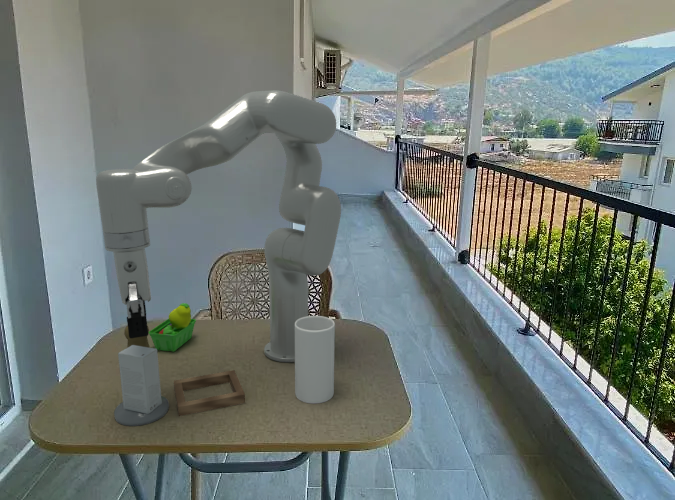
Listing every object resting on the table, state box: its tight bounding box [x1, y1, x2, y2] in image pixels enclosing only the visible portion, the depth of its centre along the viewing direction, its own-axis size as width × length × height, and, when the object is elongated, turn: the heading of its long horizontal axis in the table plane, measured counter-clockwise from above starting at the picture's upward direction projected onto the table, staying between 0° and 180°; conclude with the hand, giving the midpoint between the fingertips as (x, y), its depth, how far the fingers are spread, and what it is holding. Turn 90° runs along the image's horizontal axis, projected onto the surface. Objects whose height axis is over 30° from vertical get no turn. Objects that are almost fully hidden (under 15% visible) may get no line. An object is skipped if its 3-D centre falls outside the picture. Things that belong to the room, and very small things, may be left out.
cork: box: [124, 325, 150, 348], centre depth 111 cm, size 6×6×11 cm
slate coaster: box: [113, 395, 170, 427], centre depth 95 cm, size 10×10×1 cm
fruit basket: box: [148, 302, 197, 352], centre depth 124 cm, size 11×9×11 cm
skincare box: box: [117, 345, 162, 414], centre depth 94 cm, size 6×4×12 cm
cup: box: [294, 315, 336, 404], centre depth 101 cm, size 8×8×16 cm
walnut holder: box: [173, 369, 246, 417], centre depth 101 cm, size 13×11×2 cm
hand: (138, 326), depth 92 cm, fingers open, 9 cm apart
